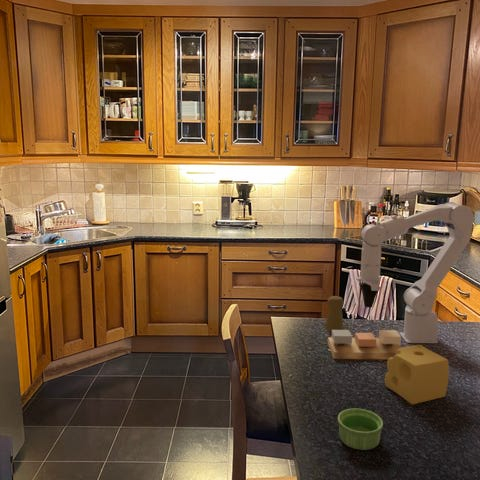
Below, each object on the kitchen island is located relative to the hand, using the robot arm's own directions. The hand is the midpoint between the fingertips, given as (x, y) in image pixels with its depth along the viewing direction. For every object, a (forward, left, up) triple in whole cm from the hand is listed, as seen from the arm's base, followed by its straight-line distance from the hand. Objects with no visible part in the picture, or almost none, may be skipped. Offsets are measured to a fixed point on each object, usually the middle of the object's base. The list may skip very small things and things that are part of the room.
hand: (368, 306), depth 150 cm
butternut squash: (+9, -8, -11) cm, 16 cm away
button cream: (-4, +10, -7) cm, 13 cm away
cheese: (-4, +34, -11) cm, 36 cm away
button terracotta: (+3, +10, -8) cm, 13 cm away
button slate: (+10, +10, -7) cm, 16 cm away
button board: (+3, +10, -10) cm, 15 cm away
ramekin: (+14, +54, -11) cm, 57 cm away
